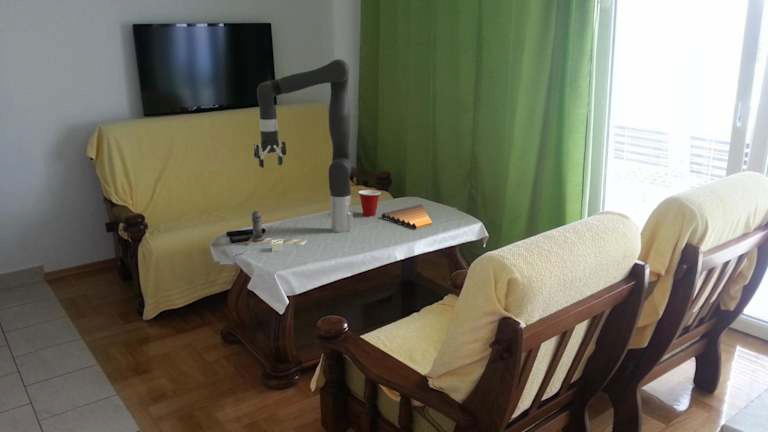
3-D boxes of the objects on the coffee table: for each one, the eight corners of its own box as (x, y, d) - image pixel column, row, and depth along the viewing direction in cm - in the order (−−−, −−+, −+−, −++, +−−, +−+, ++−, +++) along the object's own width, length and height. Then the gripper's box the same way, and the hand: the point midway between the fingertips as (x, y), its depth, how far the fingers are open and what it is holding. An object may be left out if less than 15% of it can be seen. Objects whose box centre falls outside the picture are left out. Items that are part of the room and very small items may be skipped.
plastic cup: (384, 214, 304) (384, 190, 300) (372, 219, 295) (372, 195, 292) (366, 210, 309) (366, 187, 306) (354, 216, 301) (353, 192, 297)
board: (310, 242, 263) (310, 239, 263) (305, 248, 255) (305, 245, 255) (252, 239, 267) (252, 236, 266) (245, 245, 259) (245, 242, 259)
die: (283, 249, 254) (282, 239, 252) (283, 253, 250) (283, 242, 248) (272, 250, 253) (271, 240, 252) (272, 254, 249) (271, 243, 247)
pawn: (265, 238, 264) (263, 209, 260) (261, 242, 259) (259, 213, 256) (254, 237, 265) (252, 209, 261) (250, 241, 260) (248, 212, 257)
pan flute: (418, 209, 313) (381, 219, 298) (419, 203, 312) (381, 212, 297) (454, 220, 295) (416, 231, 280) (454, 213, 294) (416, 223, 279)
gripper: (257, 131, 257) (259, 169, 262) (287, 128, 265) (289, 165, 270) (249, 129, 263) (252, 166, 268) (279, 126, 271) (281, 162, 276)
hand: (271, 166), depth 269 cm, fingers open, 8 cm apart
